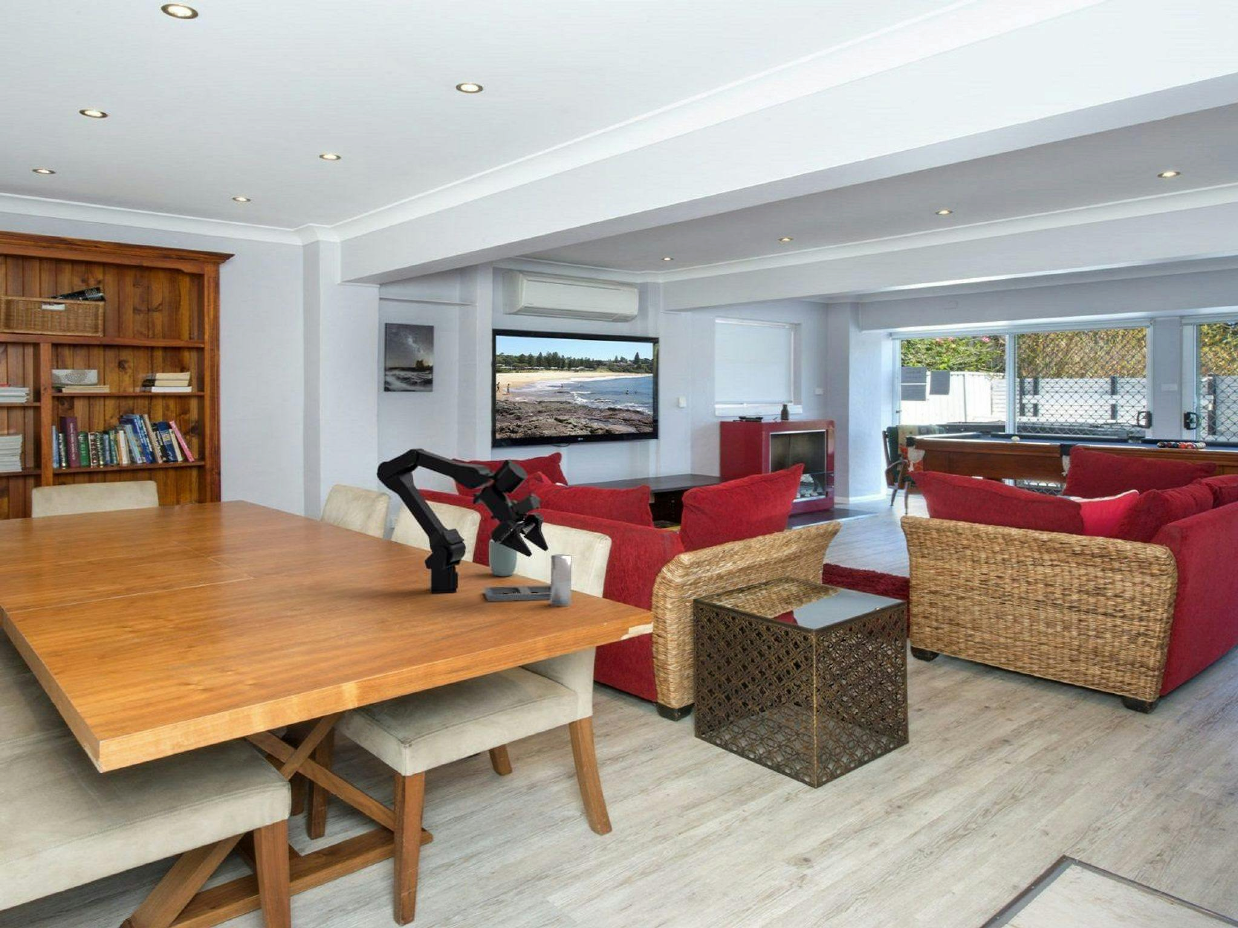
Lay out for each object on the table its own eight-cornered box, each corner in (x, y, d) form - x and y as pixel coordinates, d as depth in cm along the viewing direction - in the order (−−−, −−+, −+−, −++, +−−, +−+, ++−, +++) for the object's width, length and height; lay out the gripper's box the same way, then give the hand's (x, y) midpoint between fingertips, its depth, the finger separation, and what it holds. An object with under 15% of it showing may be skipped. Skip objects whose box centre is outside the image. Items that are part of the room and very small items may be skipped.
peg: (552, 606, 217) (553, 557, 216) (548, 602, 222) (549, 554, 221) (572, 606, 218) (573, 557, 217) (568, 601, 223) (569, 553, 222)
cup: (511, 578, 249) (512, 543, 249) (485, 576, 251) (485, 541, 250) (520, 573, 257) (520, 538, 256) (494, 571, 259) (494, 537, 258)
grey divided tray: (488, 601, 221) (488, 595, 221) (483, 592, 230) (483, 587, 230) (567, 598, 226) (567, 592, 226) (560, 590, 236) (560, 584, 235)
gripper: (502, 487, 213) (543, 536, 210) (537, 481, 231) (575, 526, 227) (473, 518, 217) (513, 567, 213) (509, 509, 234) (547, 555, 231)
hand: (539, 552), depth 221 cm, fingers open, 9 cm apart
